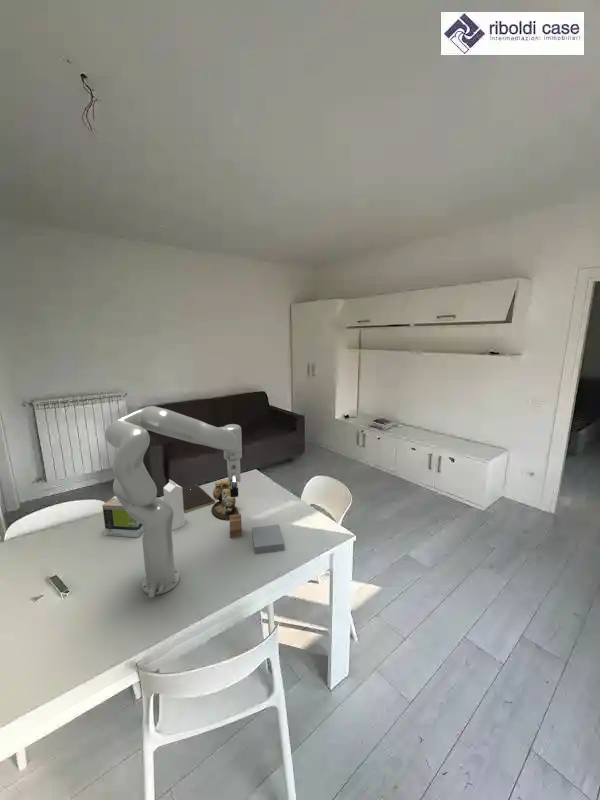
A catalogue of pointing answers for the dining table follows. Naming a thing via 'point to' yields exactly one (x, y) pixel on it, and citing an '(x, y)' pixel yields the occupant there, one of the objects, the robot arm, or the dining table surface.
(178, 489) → the milk
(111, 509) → the tea box
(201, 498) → the hardcover book
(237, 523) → the walnut block
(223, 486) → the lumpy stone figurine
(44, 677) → the dining table surface
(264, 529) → the slate platform
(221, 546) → the dining table surface
